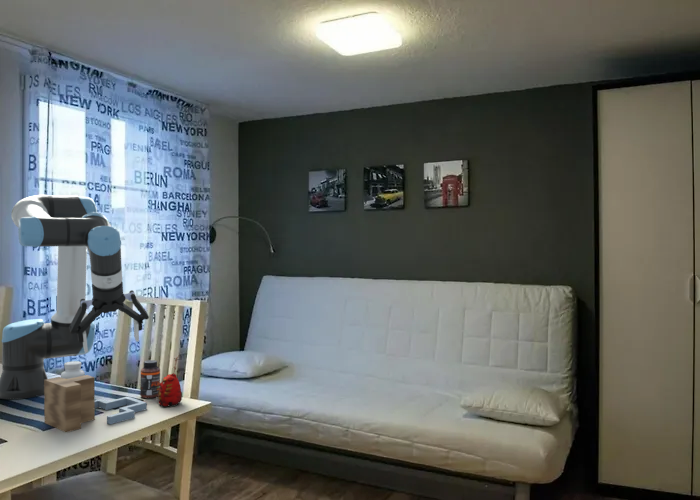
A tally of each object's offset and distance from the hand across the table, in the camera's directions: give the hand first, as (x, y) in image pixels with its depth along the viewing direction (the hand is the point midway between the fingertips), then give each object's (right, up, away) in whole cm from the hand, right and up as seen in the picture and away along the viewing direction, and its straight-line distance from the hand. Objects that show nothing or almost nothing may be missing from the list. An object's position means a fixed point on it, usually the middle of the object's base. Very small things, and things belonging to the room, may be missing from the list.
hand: (111, 344), depth 161 cm
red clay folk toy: (+12, -21, +14) cm, 28 cm away
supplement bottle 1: (-17, -21, +12) cm, 29 cm away
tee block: (-9, -21, -4) cm, 23 cm away
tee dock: (-1, -21, +6) cm, 22 cm away
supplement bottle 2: (+3, -21, +22) cm, 30 cm away
